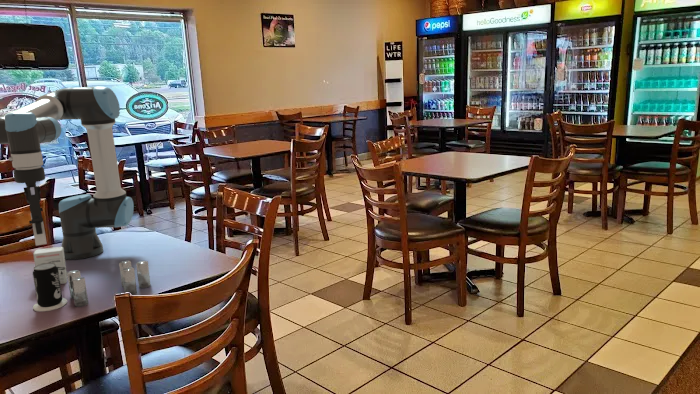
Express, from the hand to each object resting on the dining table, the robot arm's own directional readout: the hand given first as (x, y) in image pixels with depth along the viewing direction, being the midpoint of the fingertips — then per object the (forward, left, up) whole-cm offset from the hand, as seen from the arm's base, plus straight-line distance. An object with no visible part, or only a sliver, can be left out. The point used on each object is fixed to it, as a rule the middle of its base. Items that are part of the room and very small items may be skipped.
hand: (40, 238), depth 152 cm
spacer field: (+1, +17, -21) cm, 27 cm away
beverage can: (0, 0, -21) cm, 21 cm away
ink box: (-21, +2, -21) cm, 30 cm away
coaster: (0, 0, -21) cm, 21 cm away
